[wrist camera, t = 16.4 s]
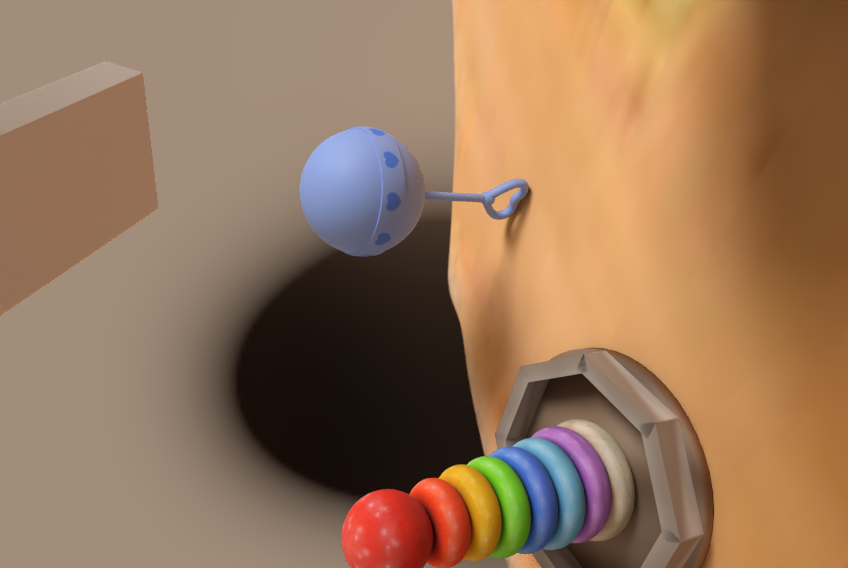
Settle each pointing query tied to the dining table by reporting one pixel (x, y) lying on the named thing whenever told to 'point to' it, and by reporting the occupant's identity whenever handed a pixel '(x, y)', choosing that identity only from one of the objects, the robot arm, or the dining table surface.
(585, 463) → the stacking toy
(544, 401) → the plate
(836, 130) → the dining table surface
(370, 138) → the baby rattle
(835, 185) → the dining table surface
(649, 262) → the dining table surface
